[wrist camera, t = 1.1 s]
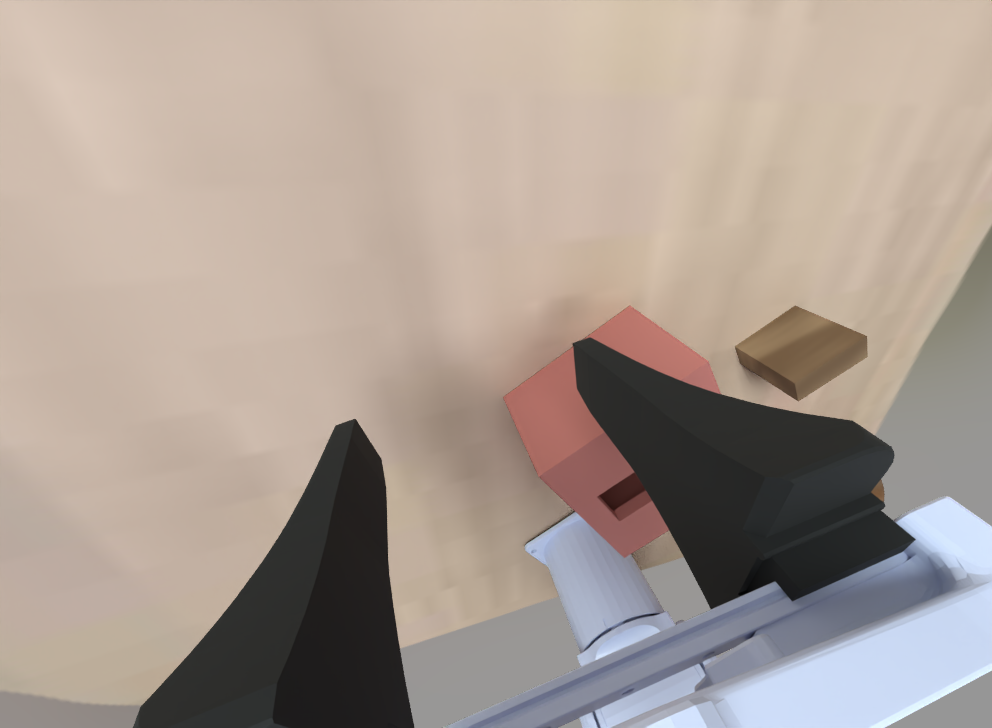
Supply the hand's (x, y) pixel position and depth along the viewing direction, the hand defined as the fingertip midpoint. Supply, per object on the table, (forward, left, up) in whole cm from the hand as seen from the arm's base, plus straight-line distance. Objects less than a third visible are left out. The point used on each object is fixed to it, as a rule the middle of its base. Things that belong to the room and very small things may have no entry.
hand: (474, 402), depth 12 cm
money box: (-14, -4, -10) cm, 18 cm away
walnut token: (-18, -17, -10) cm, 27 cm away
